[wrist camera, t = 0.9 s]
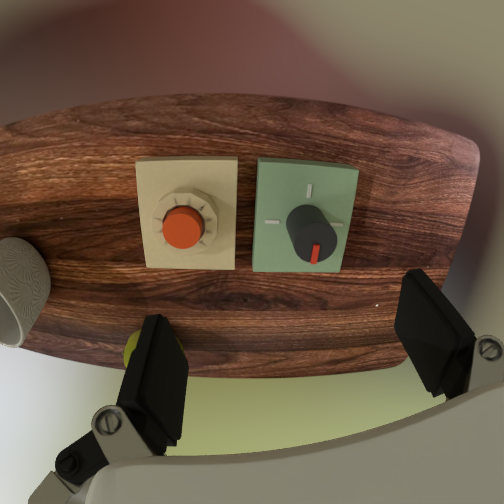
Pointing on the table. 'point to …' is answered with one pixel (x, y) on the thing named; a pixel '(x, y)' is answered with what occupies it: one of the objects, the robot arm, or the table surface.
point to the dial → (311, 234)
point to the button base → (192, 196)
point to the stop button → (182, 228)
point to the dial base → (291, 196)
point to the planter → (20, 289)
